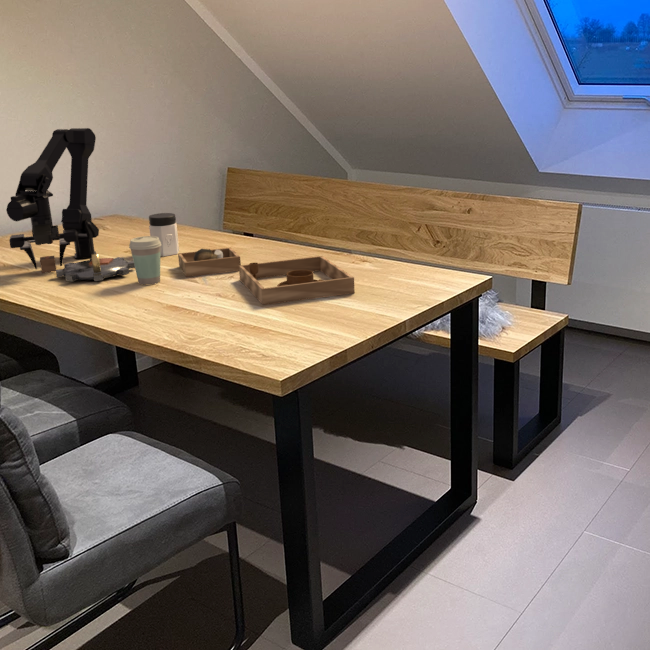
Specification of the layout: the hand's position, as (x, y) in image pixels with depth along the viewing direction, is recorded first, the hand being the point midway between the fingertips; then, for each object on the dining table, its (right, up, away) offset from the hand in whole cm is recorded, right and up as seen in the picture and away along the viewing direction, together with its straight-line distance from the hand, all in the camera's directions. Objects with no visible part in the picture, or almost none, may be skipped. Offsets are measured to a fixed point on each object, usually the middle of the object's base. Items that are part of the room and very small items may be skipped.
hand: (48, 267), depth 234 cm
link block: (0, -1, 0) cm, 1 cm away
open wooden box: (+48, -1, -5) cm, 48 cm away
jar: (+31, +5, +16) cm, 36 cm away
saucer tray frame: (+73, -7, -26) cm, 78 cm away
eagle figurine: (+48, -1, -6) cm, 48 cm away
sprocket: (+16, -2, -6) cm, 17 cm away
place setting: (+73, -8, -25) cm, 77 cm away
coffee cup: (+33, -6, -16) cm, 38 cm away
